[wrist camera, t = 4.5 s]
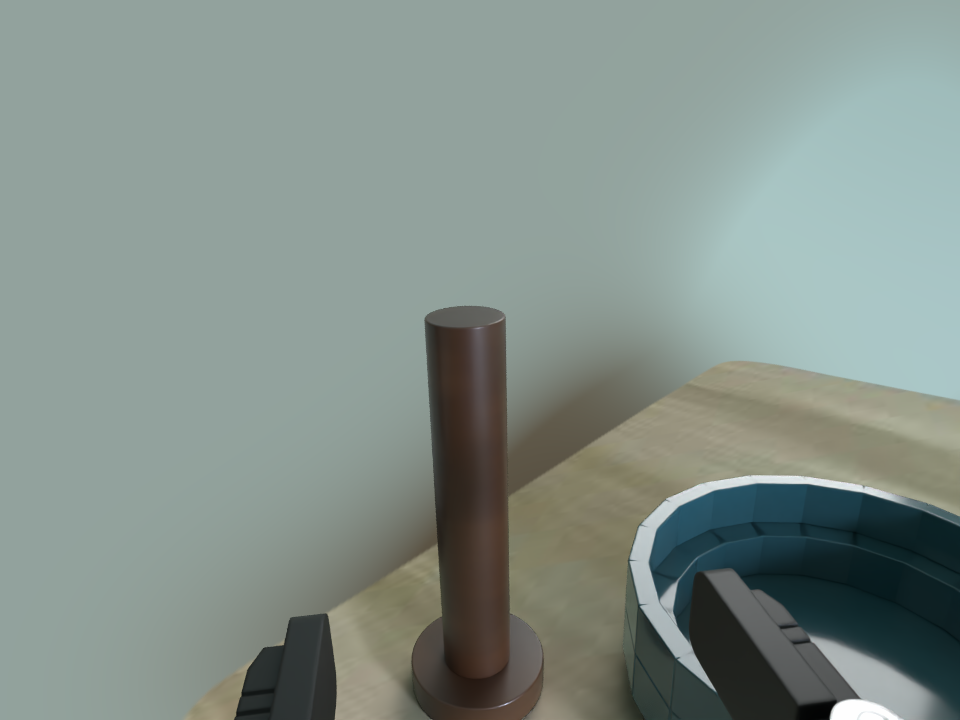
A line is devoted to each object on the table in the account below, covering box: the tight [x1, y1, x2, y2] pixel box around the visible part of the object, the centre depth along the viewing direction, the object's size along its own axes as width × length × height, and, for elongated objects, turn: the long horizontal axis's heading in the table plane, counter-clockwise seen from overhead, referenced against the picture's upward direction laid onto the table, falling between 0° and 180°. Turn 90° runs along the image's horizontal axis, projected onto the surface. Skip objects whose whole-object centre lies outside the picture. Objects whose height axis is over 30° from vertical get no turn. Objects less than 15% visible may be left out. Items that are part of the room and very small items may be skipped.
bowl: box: [623, 475, 960, 720], centre depth 23 cm, size 16×16×5 cm
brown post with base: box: [411, 306, 544, 720], centre depth 23 cm, size 5×5×15 cm
